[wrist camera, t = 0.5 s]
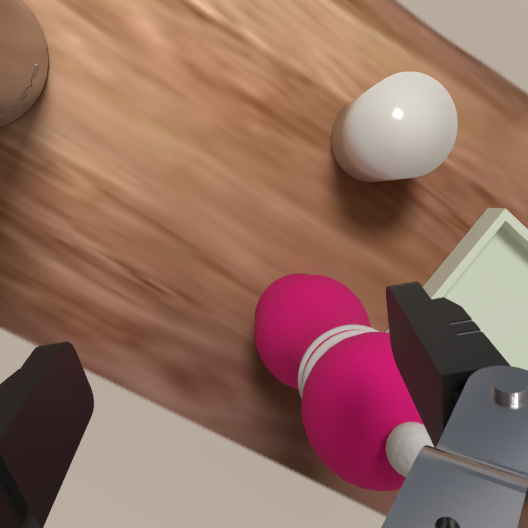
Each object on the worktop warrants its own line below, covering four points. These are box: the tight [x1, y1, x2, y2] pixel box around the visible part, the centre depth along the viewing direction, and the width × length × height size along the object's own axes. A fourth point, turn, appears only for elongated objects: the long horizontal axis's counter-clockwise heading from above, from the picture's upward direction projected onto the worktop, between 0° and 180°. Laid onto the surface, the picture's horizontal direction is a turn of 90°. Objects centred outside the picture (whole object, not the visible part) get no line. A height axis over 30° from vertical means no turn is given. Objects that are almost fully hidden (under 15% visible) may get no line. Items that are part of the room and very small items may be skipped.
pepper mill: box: [255, 274, 434, 491], centre depth 25 cm, size 7×7×20 cm
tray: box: [385, 208, 528, 370], centre depth 36 cm, size 13×12×2 cm
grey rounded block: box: [331, 72, 458, 182], centre depth 31 cm, size 6×6×6 cm
